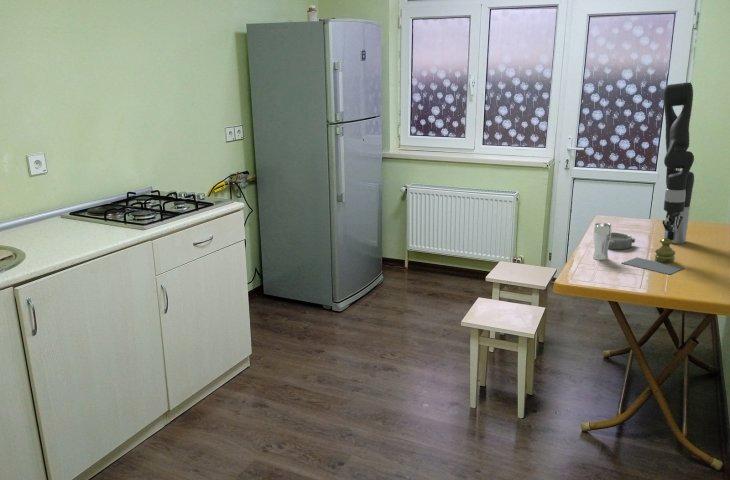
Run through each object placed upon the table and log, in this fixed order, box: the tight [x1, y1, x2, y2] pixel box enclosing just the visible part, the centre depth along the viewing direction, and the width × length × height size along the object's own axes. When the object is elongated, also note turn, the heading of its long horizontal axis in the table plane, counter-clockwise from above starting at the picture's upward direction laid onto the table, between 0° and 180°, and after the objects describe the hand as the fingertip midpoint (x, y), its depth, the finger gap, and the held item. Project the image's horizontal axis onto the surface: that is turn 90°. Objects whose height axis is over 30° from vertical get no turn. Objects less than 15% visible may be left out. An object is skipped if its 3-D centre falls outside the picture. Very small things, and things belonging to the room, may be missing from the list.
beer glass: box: [592, 222, 612, 261], centre depth 252 cm, size 7×7×15 cm
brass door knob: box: [654, 237, 676, 264], centre depth 246 cm, size 7×7×10 cm
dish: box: [608, 231, 636, 250], centre depth 271 cm, size 14×14×5 cm
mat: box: [621, 256, 685, 275], centre depth 242 cm, size 12×20×1 cm, turn 37°
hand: (670, 239), depth 247 cm, fingers closed
